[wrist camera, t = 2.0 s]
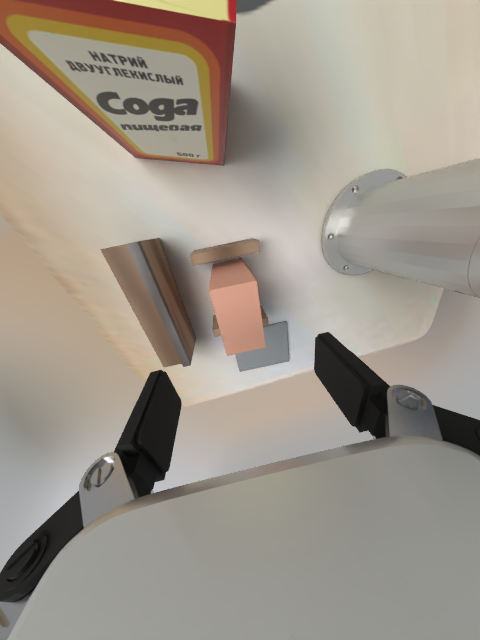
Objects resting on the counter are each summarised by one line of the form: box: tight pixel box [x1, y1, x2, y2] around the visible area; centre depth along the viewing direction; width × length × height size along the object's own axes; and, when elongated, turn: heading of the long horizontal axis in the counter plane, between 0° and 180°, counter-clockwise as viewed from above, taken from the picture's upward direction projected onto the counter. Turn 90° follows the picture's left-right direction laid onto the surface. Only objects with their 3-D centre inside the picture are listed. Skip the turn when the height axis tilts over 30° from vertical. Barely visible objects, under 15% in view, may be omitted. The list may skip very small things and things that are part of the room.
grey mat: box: [235, 321, 289, 372], centre depth 32 cm, size 10×9×1 cm
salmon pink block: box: [209, 258, 266, 356], centre depth 21 cm, size 4×7×12 cm, turn 10°
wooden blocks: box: [101, 238, 268, 367], centre depth 23 cm, size 16×16×7 cm
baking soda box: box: [0, 0, 236, 165], centre depth 11 cm, size 10×6×16 cm
